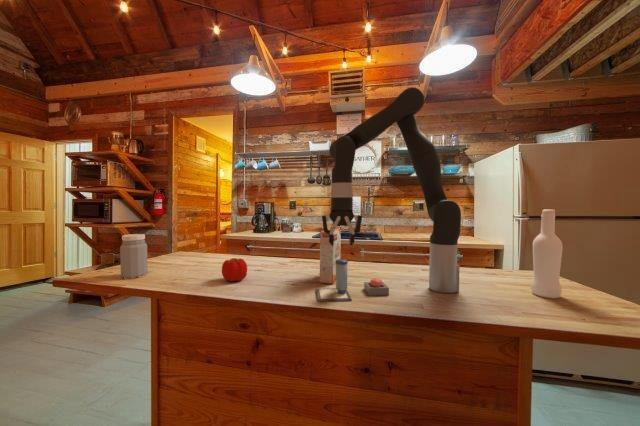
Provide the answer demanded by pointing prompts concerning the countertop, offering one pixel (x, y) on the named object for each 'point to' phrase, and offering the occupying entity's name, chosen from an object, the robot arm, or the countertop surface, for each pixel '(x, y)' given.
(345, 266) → the grey-blue cylinder
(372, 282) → the button
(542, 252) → the bottle
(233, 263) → the tomato
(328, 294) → the board
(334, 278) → the cracker box
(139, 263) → the jar
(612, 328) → the countertop surface
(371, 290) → the button collar
